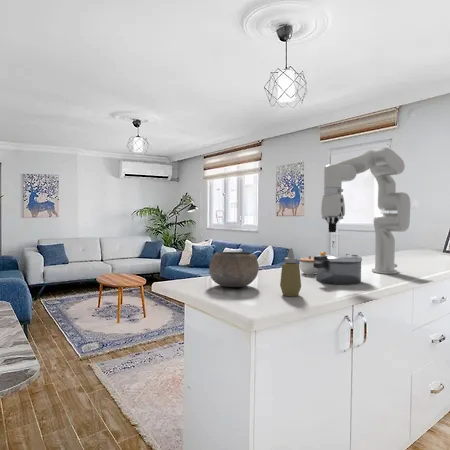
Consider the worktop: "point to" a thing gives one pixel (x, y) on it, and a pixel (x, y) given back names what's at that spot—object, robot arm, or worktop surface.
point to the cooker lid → (337, 258)
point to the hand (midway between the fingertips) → (332, 232)
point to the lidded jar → (307, 265)
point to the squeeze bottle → (290, 276)
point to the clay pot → (233, 268)
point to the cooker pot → (338, 272)
